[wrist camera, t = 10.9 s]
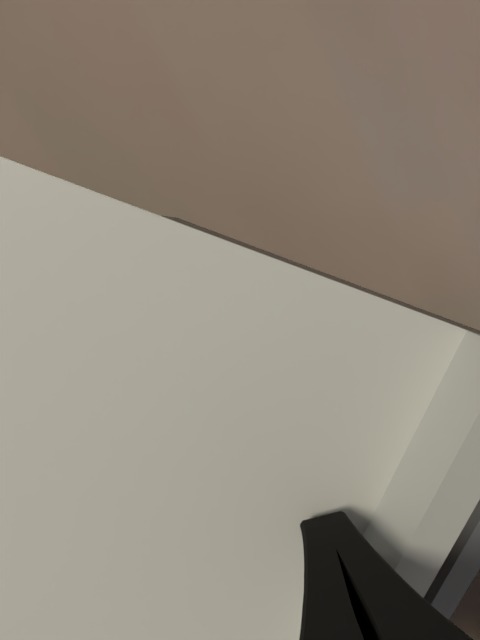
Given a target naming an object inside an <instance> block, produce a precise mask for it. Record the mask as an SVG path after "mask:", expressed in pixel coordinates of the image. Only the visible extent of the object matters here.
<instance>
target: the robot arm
mask: <svg viewBox="0 0 480 640" xmlns="http://www.w3.org/2000/svg"><path fill="white" fill-rule="evenodd" d="M300 528H301V532H302V538H303V548H304V594H303V607H302V619H301V629H300V638H299V640H473V639H472V638H470V637H469V636H468V635H466V634H465V633H464V632H463V631H461V630H460V629H459V628H458V627H456V626H455V625H454V624H453V623H452V622H450V621H449V620H448V619H447V618H446V617H444V616H443V615H442V614H441V613H440V612H438V611H437V610H436V609H435V608H434V607H433V606H432V605H430V604H429V603H428V602H427V601H426V600H425V599H424V598H423V597H422V596H421V595H419V594H418V593H417V592H416V591H415V590H414V589H413V588H412V587H411V586H410V585H409V584H408V583H407V582H406V581H405V580H404V579H403V578H402V577H401V576H400V575H399V574H398V573H397V572H396V571H395V570H394V569H393V568H392V567H391V566H390V565H389V564H388V563H387V562H386V561H385V560H384V559H383V558H382V557H381V556H380V555H379V554H378V553H377V552H376V550H375V549H374V548H373V547H372V546H371V545H370V544H369V543H368V541H367V540H366V539H365V538H364V537H363V536H362V534H361V533H360V532H359V531H358V530H357V528H356V527H355V526H354V524H353V523H352V522H351V520H350V519H349V518H348V516H347V515H346V513H344V512H342V511H338V512H334V513H330V514H326V515H322V516H318V517H314V518H311V519H307V520H303V521H302V522H301V524H300Z"/></svg>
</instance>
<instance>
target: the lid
mask: <svg viewBox="0 0 480 640" xmlns="http://www.w3.org/2000/svg"><path fill="white" fill-rule="evenodd" d="M479 500H480V334H477V333H474V332H472V331H469V330H466V329H464V328H461V327H458V326H456V325H453V324H450V323H447V322H445V321H442V320H439V319H437V318H434V317H431V316H429V315H426V314H423V313H421V312H418V311H415V310H413V309H410V308H407V307H405V306H402V305H399V304H396V303H394V302H391V301H388V300H386V299H383V298H380V297H378V296H375V295H372V294H370V293H367V292H364V291H362V290H359V289H356V288H354V287H351V286H348V285H345V284H343V283H340V282H337V281H335V280H332V279H329V278H327V277H324V276H321V275H319V274H316V273H313V272H311V271H308V270H305V269H303V268H300V267H297V266H294V265H292V264H289V263H286V262H284V261H281V260H278V259H276V258H273V257H270V256H268V255H265V254H262V253H260V252H257V251H254V250H251V249H249V248H246V247H243V246H241V245H238V244H235V243H233V242H230V241H227V240H225V239H222V238H219V237H217V236H214V235H211V234H209V233H206V232H203V231H200V230H198V229H195V228H192V227H190V226H187V225H184V224H182V223H179V222H176V221H174V220H171V219H168V218H166V217H163V216H160V215H158V214H155V213H152V212H149V211H147V210H144V209H141V208H139V207H136V206H133V205H131V204H128V203H125V202H123V201H120V200H117V199H115V198H112V197H109V196H107V195H104V194H101V193H98V192H96V191H93V190H90V189H88V188H85V187H82V186H80V185H77V184H74V183H72V182H69V181H66V180H64V179H61V178H58V177H56V176H53V175H50V174H47V173H45V172H42V171H39V170H37V169H34V168H31V167H29V166H26V165H23V164H21V163H18V162H15V161H13V160H10V159H7V158H5V157H2V156H0V640H299V638H300V629H301V619H302V607H303V594H304V548H303V538H302V532H301V528H300V524H301V522H302V521H303V520H307V519H311V518H314V517H318V516H322V515H326V514H330V513H334V512H338V511H342V512H344V513H346V515H347V516H348V518H349V519H350V520H351V522H352V523H353V524H354V526H355V527H356V528H357V530H358V531H359V532H360V533H361V534H362V536H363V537H364V538H365V539H366V540H367V541H368V543H369V544H370V545H371V546H372V547H373V548H374V549H375V550H376V552H377V553H378V554H379V555H380V556H381V557H382V558H383V559H384V560H385V561H386V562H387V563H388V564H389V565H390V566H391V567H392V568H393V569H394V570H395V571H396V572H397V573H398V574H399V575H400V576H401V577H402V578H403V579H404V580H405V581H406V582H407V583H408V584H409V585H410V586H411V587H412V588H413V589H414V590H415V591H416V592H417V593H418V594H419V595H421V596H422V597H423V598H424V596H425V594H426V593H427V591H428V589H429V587H430V586H431V584H432V582H433V580H434V579H435V577H436V575H437V573H438V572H439V570H440V568H441V566H442V565H443V563H444V561H445V559H446V558H447V556H448V554H449V552H450V551H451V549H452V547H453V545H454V544H455V542H456V540H457V538H458V537H459V535H460V533H461V531H462V529H463V528H464V526H465V524H466V522H467V521H468V519H469V517H470V515H471V514H472V512H473V510H474V508H475V507H476V505H477V503H478V501H479Z"/></svg>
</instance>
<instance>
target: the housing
mask: <svg viewBox="0 0 480 640" xmlns="http://www.w3.org/2000/svg"><path fill="white" fill-rule="evenodd" d="M163 217H166V218H168V219H171V220H174V221H176V222H179V223H182V224H184V225H187V226H190V227H192V228H195V229H198V230H200V231H203V232H206V233H209V234H211V235H214V236H217V237H219V238H222V239H225V240H227V241H230V242H233V243H235V244H238V245H241V246H243V247H246V248H249V249H251V250H254V251H257V252H260V253H262V254H265V255H268V256H270V257H273V258H276V259H278V260H281V261H284V262H286V263H289V264H292V265H294V266H297V267H300V268H303V269H305V270H308V271H311V272H313V273H316V274H319V275H321V276H324V277H327V278H329V279H332V280H335V281H337V282H340V283H343V284H345V285H348V286H351V287H354V288H356V289H359V290H362V291H364V292H367V293H370V294H372V295H375V296H378V297H380V298H383V299H386V300H388V301H391V302H394V303H396V304H399V305H402V306H405V307H407V308H410V309H413V310H415V311H418V312H421V313H423V314H426V315H429V316H431V317H434V318H437V319H439V320H442V321H445V322H447V323H450V324H453V325H456V326H458V327H461V328H464V329H466V330H469V331H472V332H474V333H477V334H480V331H478V330H476V329H473V328H470V327H467V326H465V325H462V324H459V323H457V322H454V321H451V320H449V319H446V318H443V317H441V316H438V315H435V314H433V313H430V312H427V311H425V310H422V309H419V308H417V307H414V306H411V305H409V304H406V303H403V302H401V301H398V300H395V299H393V298H390V297H387V296H385V295H382V294H379V293H377V292H374V291H371V290H369V289H366V288H363V287H361V286H358V285H355V284H353V283H350V282H347V281H345V280H342V279H339V278H336V277H334V276H331V275H328V274H326V273H323V272H320V271H318V270H315V269H312V268H310V267H307V266H304V265H302V264H299V263H296V262H294V261H291V260H288V259H286V258H283V257H280V256H278V255H275V254H272V253H270V252H267V251H264V250H262V249H259V248H256V247H254V246H251V245H248V244H246V243H243V242H240V241H238V240H235V239H232V238H230V237H227V236H224V235H222V234H219V233H216V232H214V231H211V230H208V229H205V228H203V227H200V226H197V225H195V224H192V223H189V222H187V221H184V220H181V219H179V218H175V217H168V216H163ZM479 569H480V500H479V501H478V503H477V505H476V507H475V508H474V510H473V512H472V514H471V515H470V517H469V519H468V521H467V522H466V524H465V526H464V528H463V529H462V531H461V533H460V535H459V537H458V538H457V540H456V542H455V544H454V545H453V547H452V549H451V551H450V552H449V554H448V556H447V558H446V559H445V561H444V563H443V565H442V566H441V568H440V570H439V572H438V573H437V575H436V577H435V579H434V580H433V582H432V584H431V586H430V587H429V589H428V591H427V593H426V594H425V596H424V599H425V600H426V601H427V602H428V603H429V604H430V605H432V606H433V607H434V608H435V609H436V610H437V611H438V612H440V613H441V614H442V615H443V616H444V617H446V618H447V619H448V620H450V618H451V616H452V615H453V613H454V611H455V609H456V608H457V606H458V604H459V603H460V601H461V599H462V598H463V596H464V594H465V593H466V591H467V589H468V588H469V586H470V584H471V583H472V581H473V579H474V578H475V576H476V574H477V573H478V571H479Z"/></svg>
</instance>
